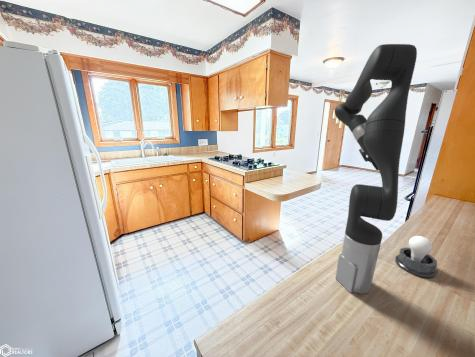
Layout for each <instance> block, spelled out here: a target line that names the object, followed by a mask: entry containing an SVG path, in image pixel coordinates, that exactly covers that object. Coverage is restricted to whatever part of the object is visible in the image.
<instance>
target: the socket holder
mask: <svg viewBox="0 0 475 357" xmlns="http://www.w3.org/2000/svg"><path fill="white" fill-rule="evenodd" d="M394 261H395V264H396V265H397V266H398V267H399V268H401V270H403V271H405V272H407V273H408V274H410V275H413V276H415V277H418V278H422V279H427V280H429V279H434V278H437V275H438V270H437V266H438V261H437V259H435V258H434V257H433V256H432V255H431V254H430V253H429V254H427V255H425V256H424V258H423V260H421V263H420V262H417V261H414V260H412V259H411V249H410V247H401V248H400V250H399V254H398V255H396V256H395V260H394Z"/></svg>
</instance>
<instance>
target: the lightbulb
mask: <svg viewBox="0 0 475 357" xmlns="http://www.w3.org/2000/svg"><path fill="white" fill-rule="evenodd" d="M408 246H409V248H410V249H411V259H412V260H414V261H417V262H420V263H421V260H423V258H424V256H425V255H427V254H429V255H430V253H431V252H432V251H433V250H434V245H433V243H432V242H431V240H430V239H428V238H427V237H425V236H422V235H415V236H412V237H410V239H409V240H408Z"/></svg>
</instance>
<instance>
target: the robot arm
mask: <svg viewBox="0 0 475 357" xmlns="http://www.w3.org/2000/svg"><path fill="white" fill-rule="evenodd" d="M417 55H418V50H417V47H416V46H415V45H414V44H410V43H409V44H407V43H385V44H383V43H382V44H379V45H378V46H376V48H374V50H373V51H372V52H371V54H370V55H369V57H368V59H367V60H366V63H365V65H364V67H363V68H362V70H361V73H360V75H359V77H358V79H357V82H356V84H355V86H354V87H353V89H352V90H351V91H350V93H349V94H348V95H347V97H346V99H345V102H342V103H340V104H338V105H337V106H335V108H334V116H335V117H336V118H337V120H339V121H340V122H341V123H343V124H344V125H345V126H347V127H348V129H349V130H350V132H351V133H352V136H353V137H354V140H356V142H357V144H358V145H359V147H360V148H359V149H358V152H359V153H360V155H361V157H362V158H363V160H364V162H366V163H367V162H369V164H370V163H371V165H372V166H373V167H374V169H375V170H376V171H379V174H380V177H381V183H382V185H381V186H378V185H377V186H375V185H367V184H361V183H360V184H354V185H353V186H352V188H351V191H350V194H349V201H348V202H349V203H348V214H347V220H346V226H345V230H344V231H345V232H344V237H343V244H342V250H341V254H339V255H338V260H337V267H336V273H335V280H337V281H338V283H340V284H341V285H342V286H343V287H344V288H345V290H347V291H348V292H349V293H350V294H352V293H355V294H360V295H364V294H368V293H369V292H370V291H371V290H372V289H371V288H372V284H373V279H374V275H375V270H376V266H377V261H378V258H379V254H380V253H379V252H380V249H381V244H382V241H383V233H382V230H381V229H380V228H378V227H377V226H376V225H374V224H372V223H370V222H368V221H366V220H365V219H364V218H369V219H372V220H373V219H374V220H380V221H385V222H387V221H388V222H389V221H391V220H393V219H394V217H395V216H396V212H397V207H398V197H399V195H398V194H399V175H400V174H399V171H400V160H401V153H402V147H403V141H404V135H405V127H406V118H407V117H406V116H407V105H408V100H409V92H410V89H411V84H412V79H413V77H414V76H413V75H414V71H415V68H416V63H417ZM371 80H375V81H390V82H391V87H390V89H389V92H388V94H387V95H386V96H385V98H384V99H383V100H382V101H381V102H380V103H379V104H378V105H377V106H376V107H375V108H374V110H373V111H372V112H371V113H370V114H369V115H368V117H367V118H366V117H365V116H364V115H363V114H359V113H361V111H362V108H363V107H364V104H366V102H367V101H368V100H369V99H370V98H371V95H372V92H373V86H372V83H371ZM362 217H364V218H362Z"/></svg>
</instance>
